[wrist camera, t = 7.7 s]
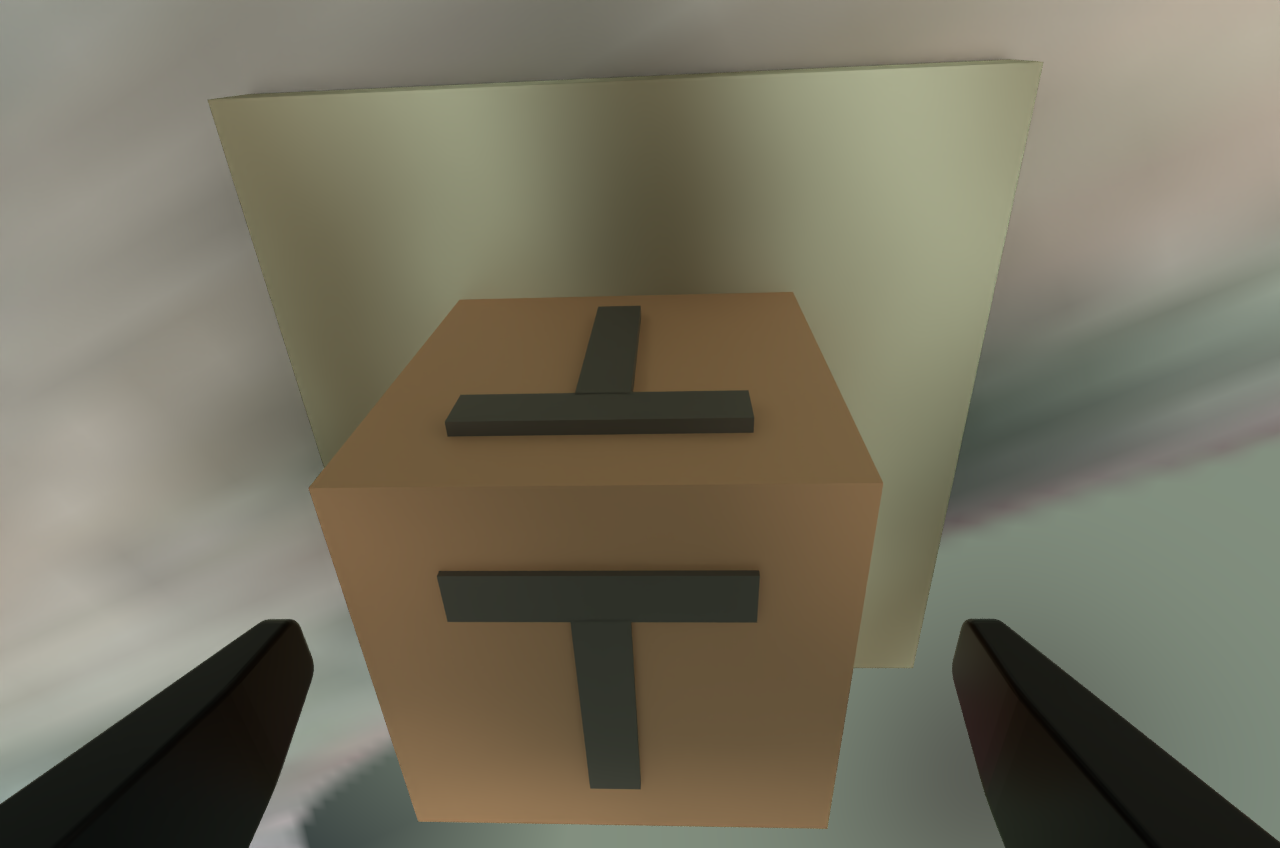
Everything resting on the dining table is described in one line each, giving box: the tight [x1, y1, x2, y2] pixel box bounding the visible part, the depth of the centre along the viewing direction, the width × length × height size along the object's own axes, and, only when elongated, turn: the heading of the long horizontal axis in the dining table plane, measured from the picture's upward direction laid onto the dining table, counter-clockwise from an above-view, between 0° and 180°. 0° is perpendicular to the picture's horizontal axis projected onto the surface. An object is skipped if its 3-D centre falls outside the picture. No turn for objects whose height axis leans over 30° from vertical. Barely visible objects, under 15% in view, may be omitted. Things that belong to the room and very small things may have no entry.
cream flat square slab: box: [208, 59, 1043, 668], centre depth 14 cm, size 13×13×1 cm
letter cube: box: [309, 292, 883, 829], centre depth 11 cm, size 6×6×6 cm
